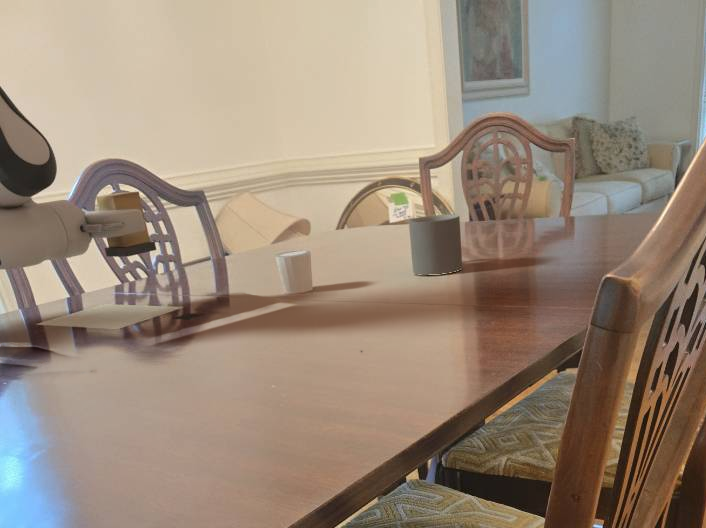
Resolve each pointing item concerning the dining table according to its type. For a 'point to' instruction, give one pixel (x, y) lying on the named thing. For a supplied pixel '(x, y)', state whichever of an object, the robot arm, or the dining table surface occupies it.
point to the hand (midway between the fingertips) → (126, 217)
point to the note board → (110, 316)
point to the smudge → (187, 316)
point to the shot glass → (295, 271)
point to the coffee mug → (435, 244)
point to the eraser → (127, 243)
